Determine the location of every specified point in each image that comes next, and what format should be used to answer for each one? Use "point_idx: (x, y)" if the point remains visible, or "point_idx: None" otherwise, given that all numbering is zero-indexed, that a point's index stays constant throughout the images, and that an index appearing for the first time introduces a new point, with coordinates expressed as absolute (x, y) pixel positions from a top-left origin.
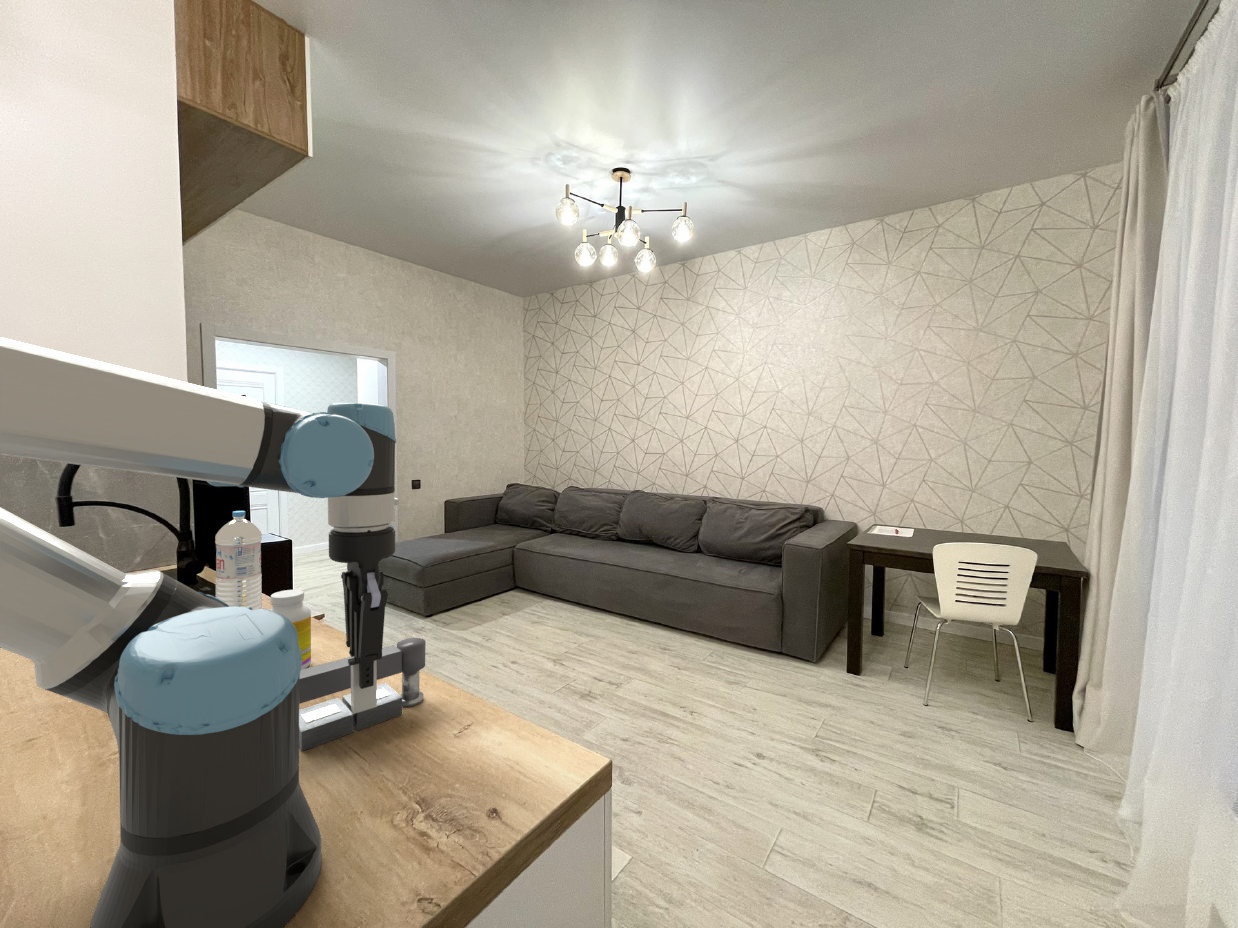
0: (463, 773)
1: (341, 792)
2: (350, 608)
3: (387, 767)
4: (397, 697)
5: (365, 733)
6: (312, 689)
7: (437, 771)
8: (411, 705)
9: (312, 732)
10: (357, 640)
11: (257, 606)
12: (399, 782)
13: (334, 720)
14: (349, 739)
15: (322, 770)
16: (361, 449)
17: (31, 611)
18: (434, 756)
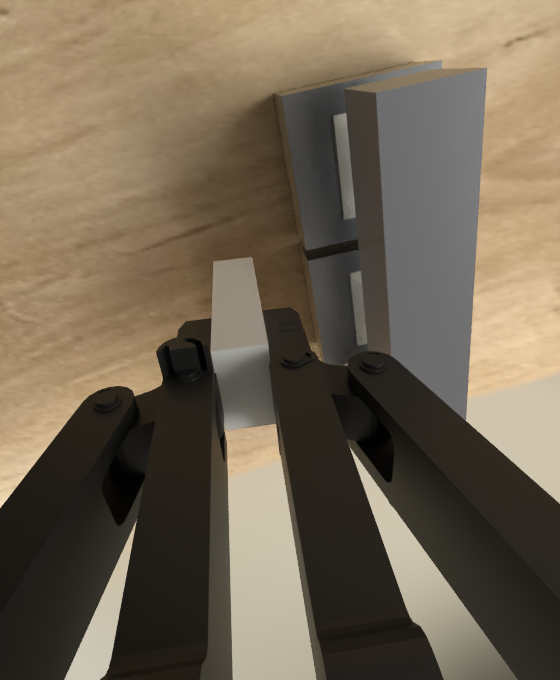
0: (13, 410)
1: (23, 181)
2: (357, 594)
3: (94, 287)
4: (332, 358)
5: (276, 259)
6: (361, 150)
7: (38, 372)
8: (342, 365)
9: (285, 130)
10: (151, 459)
11: None
12: (22, 303)
13: (298, 198)
14: (268, 220)
15: (146, 143)
16: None
17: None
18: (99, 375)
